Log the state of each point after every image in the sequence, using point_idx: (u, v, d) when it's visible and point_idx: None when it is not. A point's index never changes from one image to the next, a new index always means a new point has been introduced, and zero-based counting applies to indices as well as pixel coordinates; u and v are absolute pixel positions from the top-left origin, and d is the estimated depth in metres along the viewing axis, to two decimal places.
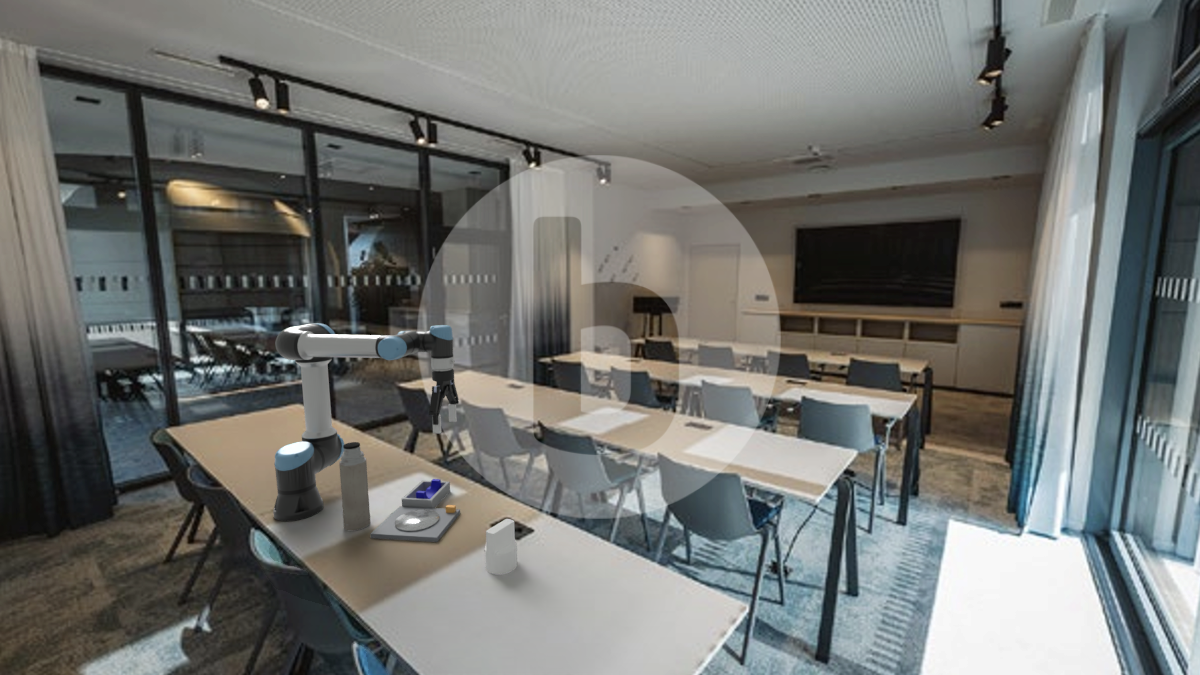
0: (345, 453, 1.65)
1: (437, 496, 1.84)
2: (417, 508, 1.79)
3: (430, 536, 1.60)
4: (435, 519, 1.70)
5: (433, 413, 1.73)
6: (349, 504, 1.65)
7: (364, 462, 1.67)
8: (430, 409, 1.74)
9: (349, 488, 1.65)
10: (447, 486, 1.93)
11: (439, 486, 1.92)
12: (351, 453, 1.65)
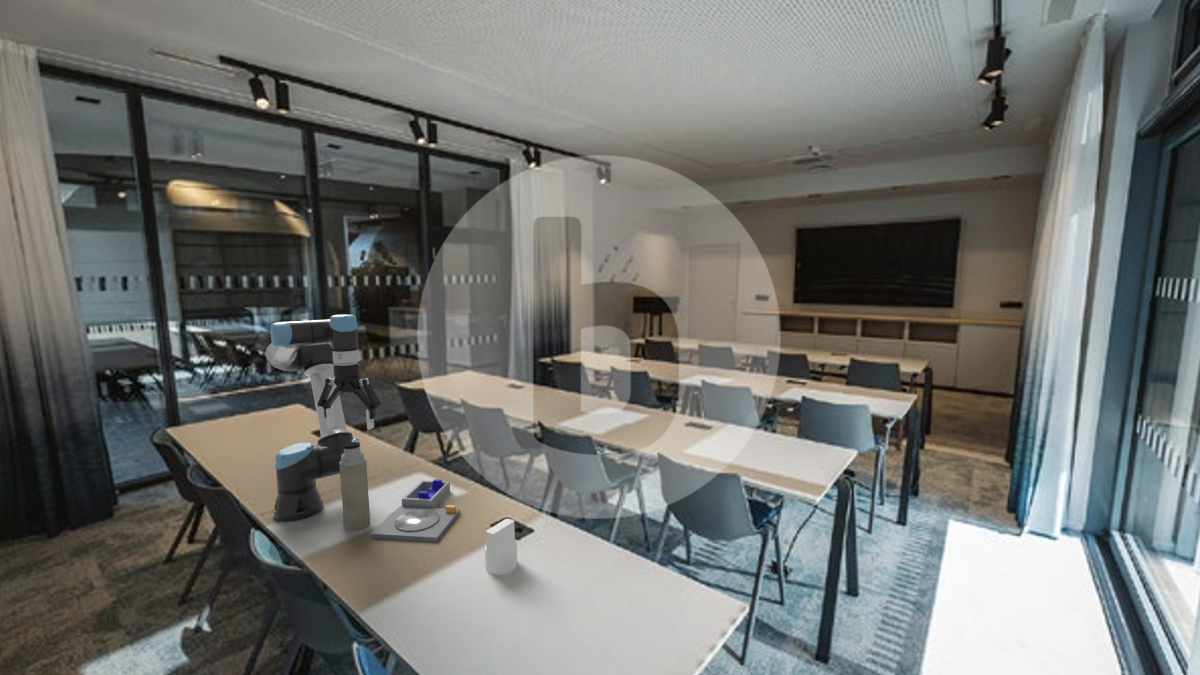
0: (345, 453, 1.65)
1: (437, 496, 1.84)
2: (417, 508, 1.79)
3: (430, 536, 1.60)
4: (435, 519, 1.70)
5: None
6: (349, 504, 1.65)
7: (364, 462, 1.67)
8: None
9: (349, 488, 1.65)
10: (447, 486, 1.93)
11: (441, 486, 1.92)
12: (351, 453, 1.65)
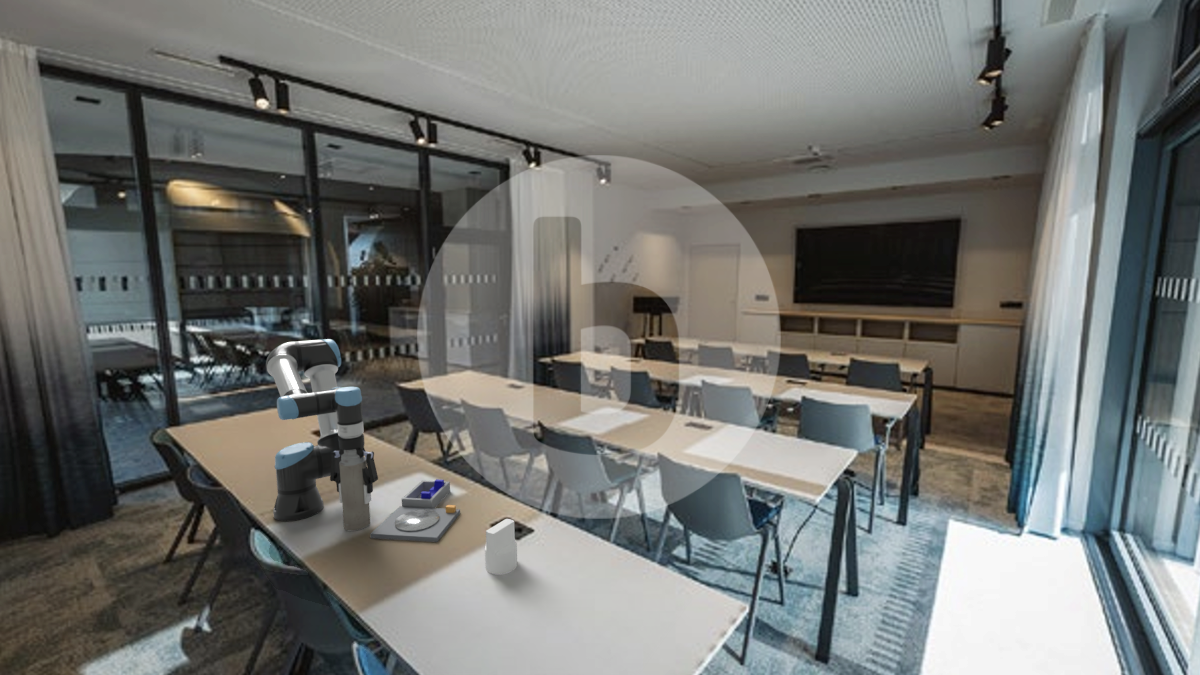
0: (345, 453, 1.65)
1: (437, 496, 1.84)
2: (417, 508, 1.79)
3: (430, 536, 1.60)
4: (435, 519, 1.70)
5: None
6: (349, 504, 1.65)
7: (364, 462, 1.67)
8: None
9: (349, 488, 1.65)
10: (447, 486, 1.93)
11: None
12: (351, 453, 1.65)
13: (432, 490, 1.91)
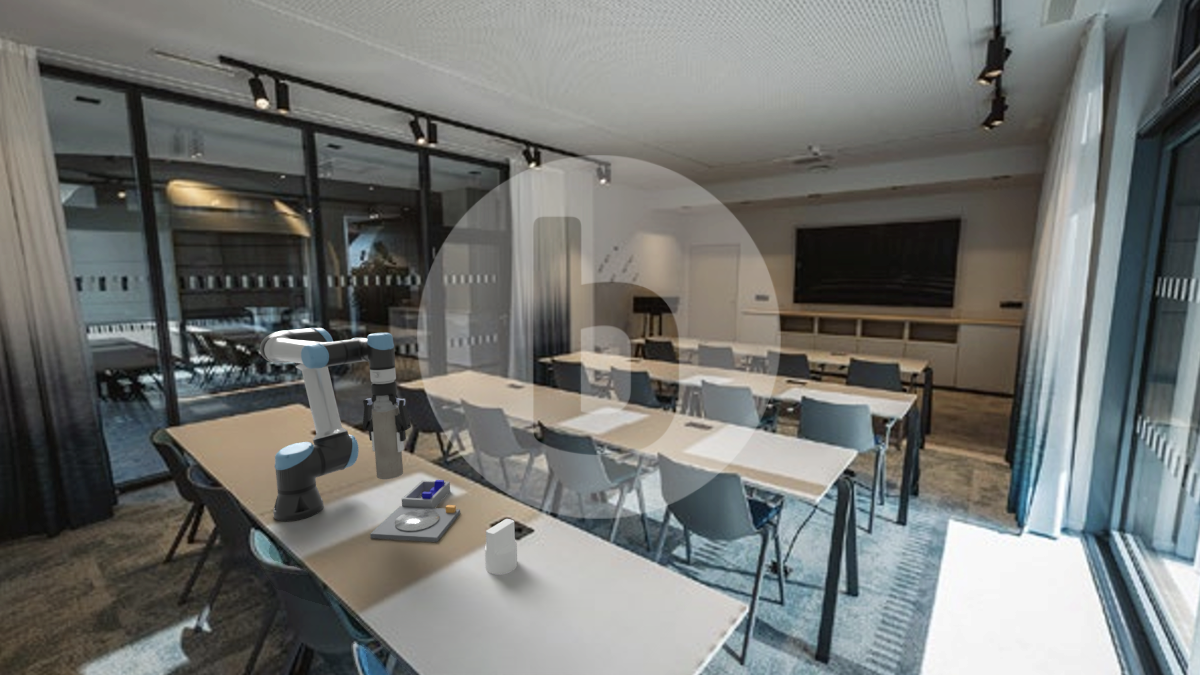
0: (377, 399, 1.62)
1: (437, 496, 1.84)
2: (417, 508, 1.79)
3: (430, 536, 1.60)
4: (435, 519, 1.70)
5: None
6: (382, 452, 1.62)
7: (396, 409, 1.64)
8: None
9: (381, 435, 1.62)
10: (447, 486, 1.93)
11: None
12: (383, 399, 1.62)
13: (432, 490, 1.91)
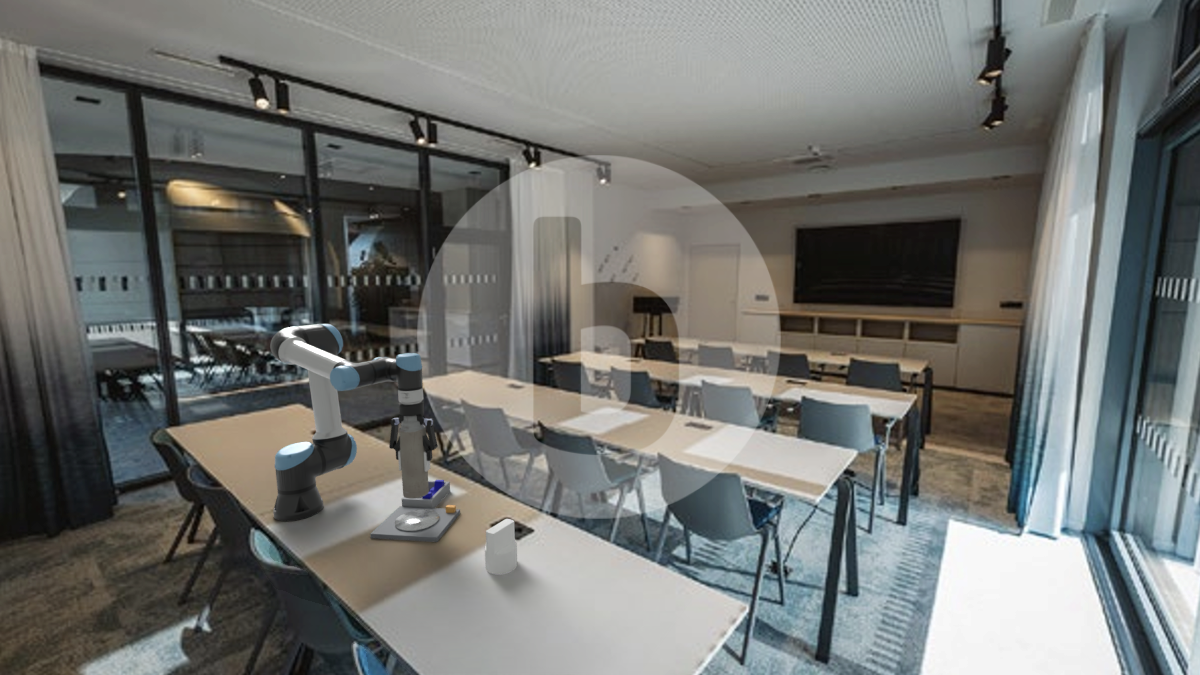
0: (405, 420, 1.63)
1: (437, 496, 1.84)
2: (417, 508, 1.79)
3: (430, 536, 1.60)
4: (435, 519, 1.70)
5: None
6: (409, 472, 1.64)
7: (424, 429, 1.65)
8: None
9: (409, 455, 1.63)
10: (447, 486, 1.93)
11: None
12: (411, 419, 1.63)
13: (432, 490, 1.91)
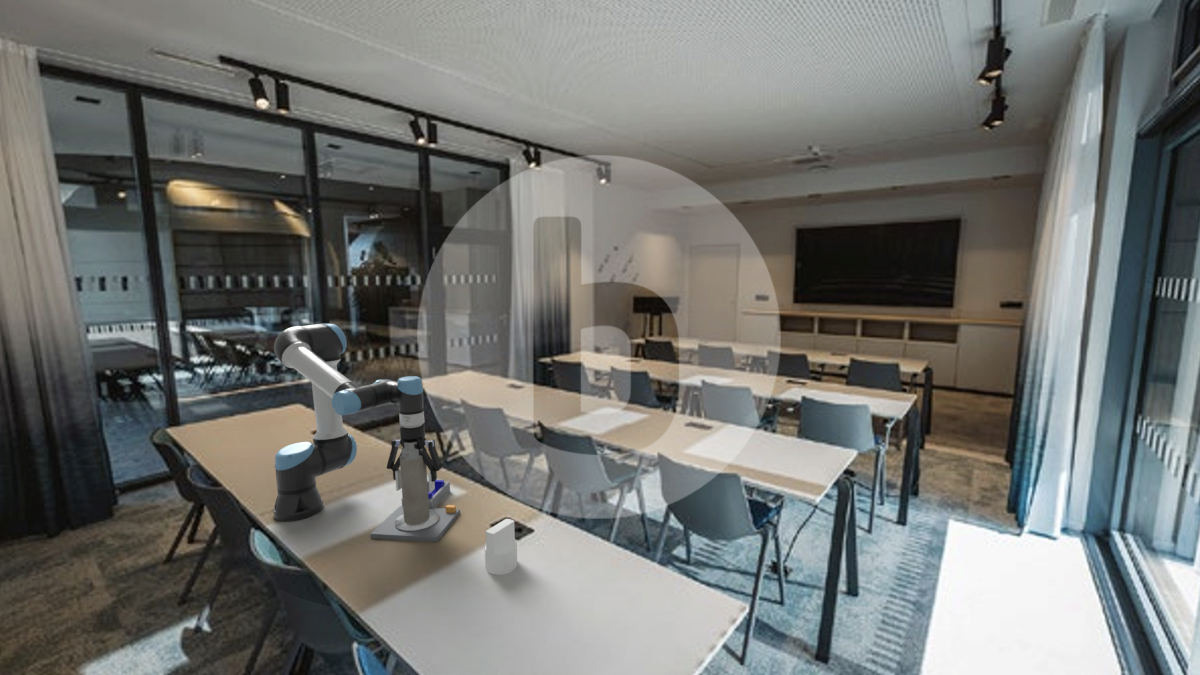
0: (406, 447, 1.64)
1: (437, 496, 1.84)
2: None
3: (430, 536, 1.60)
4: (435, 519, 1.70)
5: None
6: (410, 498, 1.65)
7: None
8: None
9: (410, 482, 1.64)
10: (447, 486, 1.93)
11: None
12: (412, 447, 1.64)
13: None
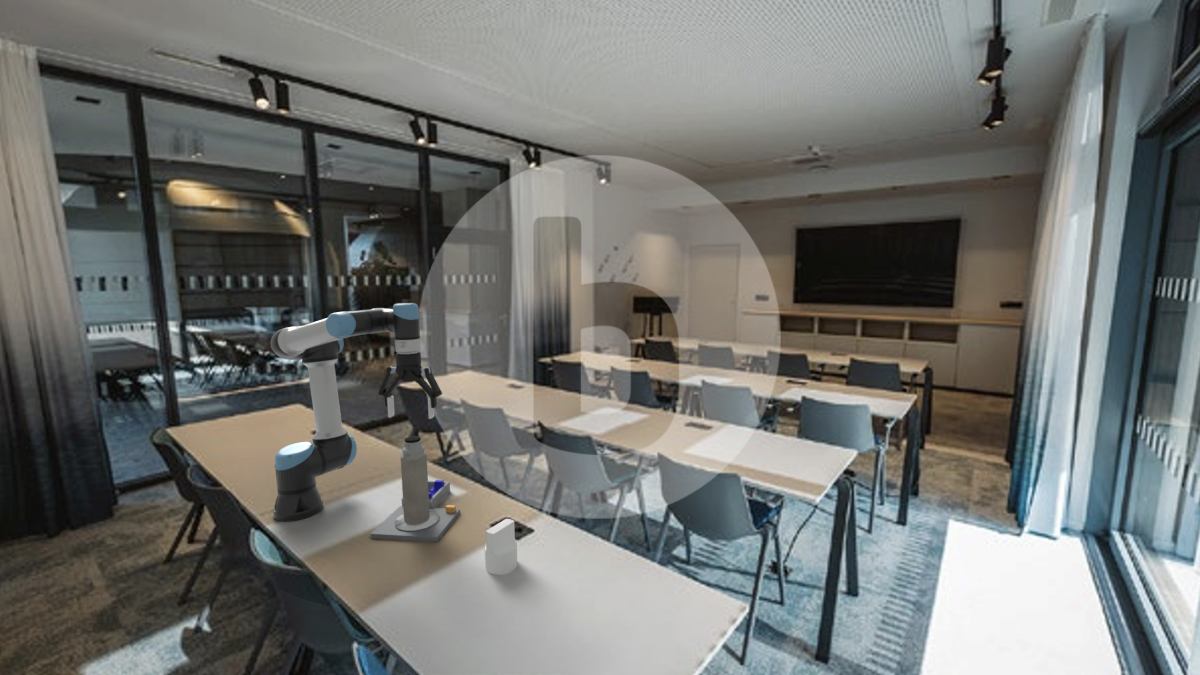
0: (407, 447, 1.64)
1: (437, 496, 1.84)
2: None
3: (430, 536, 1.60)
4: (435, 519, 1.70)
5: None
6: (410, 498, 1.65)
7: (425, 456, 1.67)
8: None
9: (410, 482, 1.64)
10: (447, 486, 1.93)
11: None
12: (413, 447, 1.64)
13: (432, 491, 1.90)
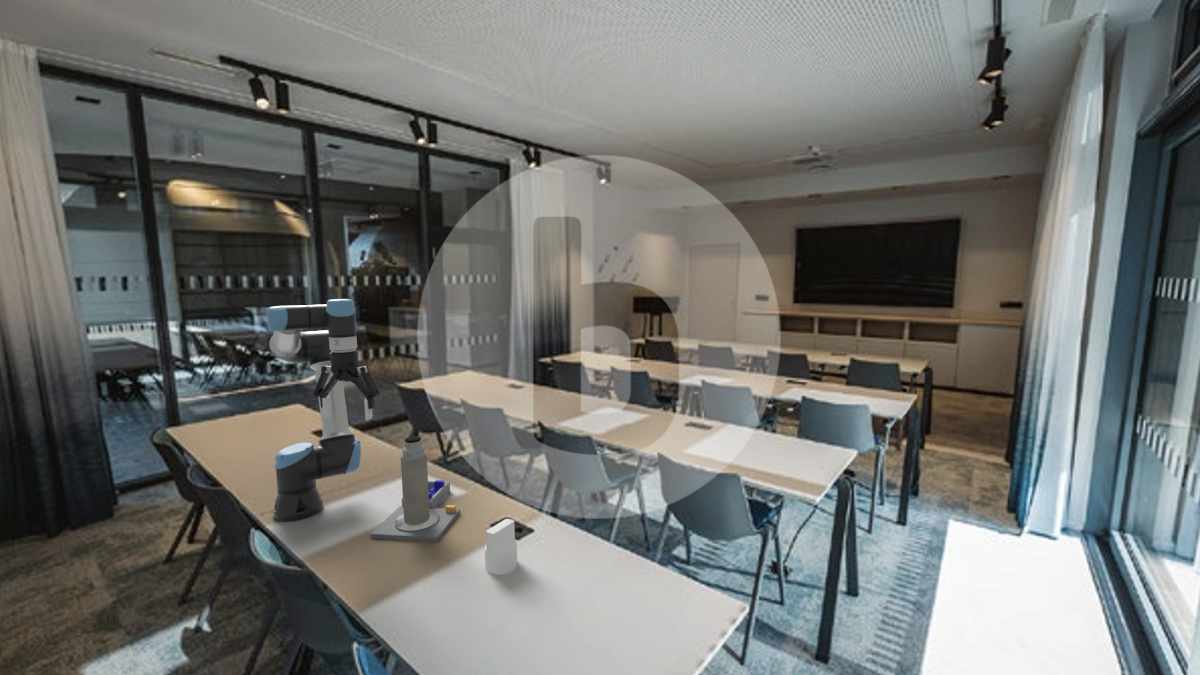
0: (407, 447, 1.64)
1: (437, 496, 1.84)
2: None
3: (430, 536, 1.60)
4: (435, 519, 1.70)
5: None
6: (410, 498, 1.65)
7: (425, 456, 1.67)
8: None
9: (410, 482, 1.64)
10: (447, 486, 1.93)
11: None
12: (413, 447, 1.64)
13: (432, 491, 1.90)
